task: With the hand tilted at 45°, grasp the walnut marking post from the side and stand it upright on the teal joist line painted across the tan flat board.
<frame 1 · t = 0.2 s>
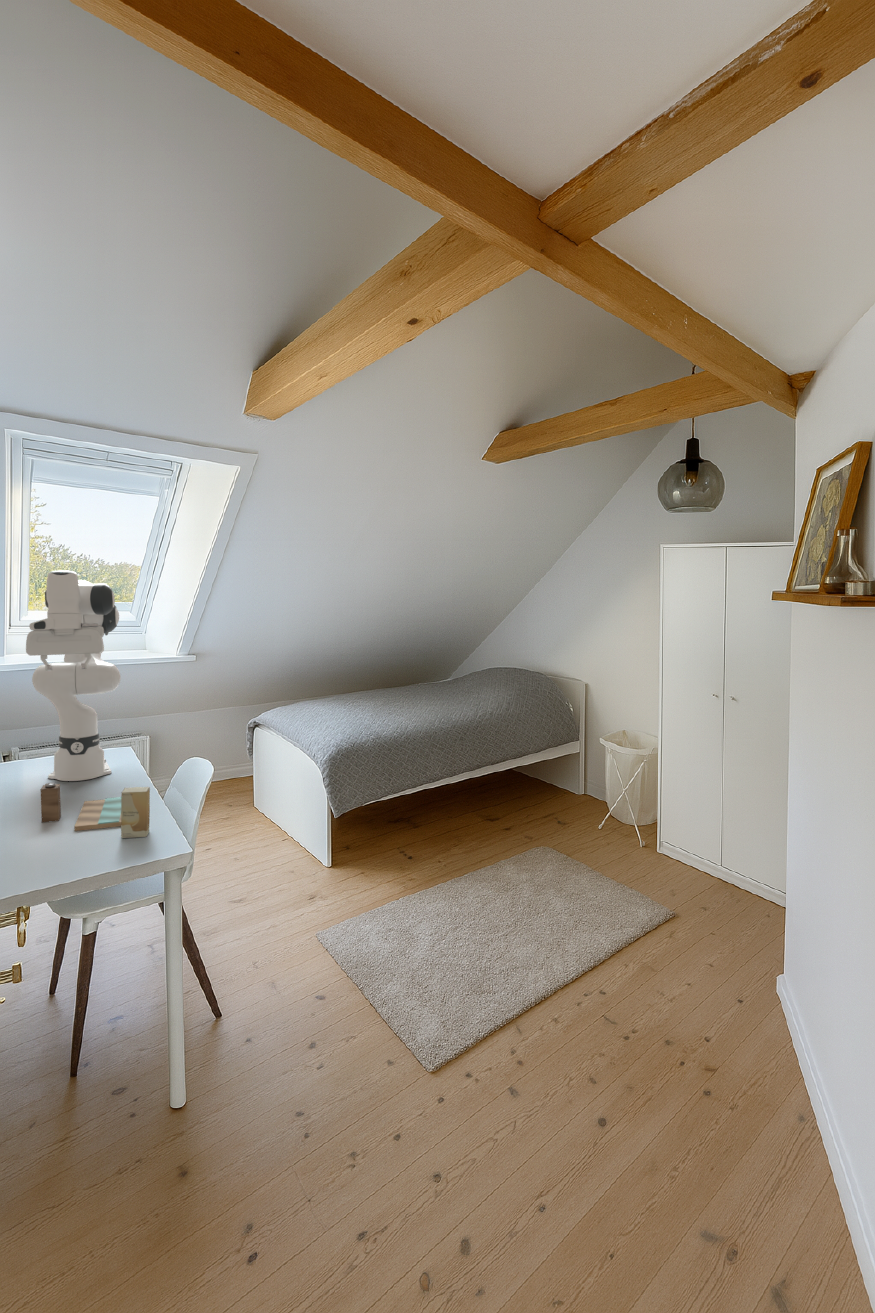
hand: (66, 669, 190), 39 cm above the table, tool pointing down, fingers open, 8 cm apart
skincare box: (136, 835, 164), on the table
walnut marking post: (51, 819, 174), on the table
tan flat board: (110, 814, 179), on the table
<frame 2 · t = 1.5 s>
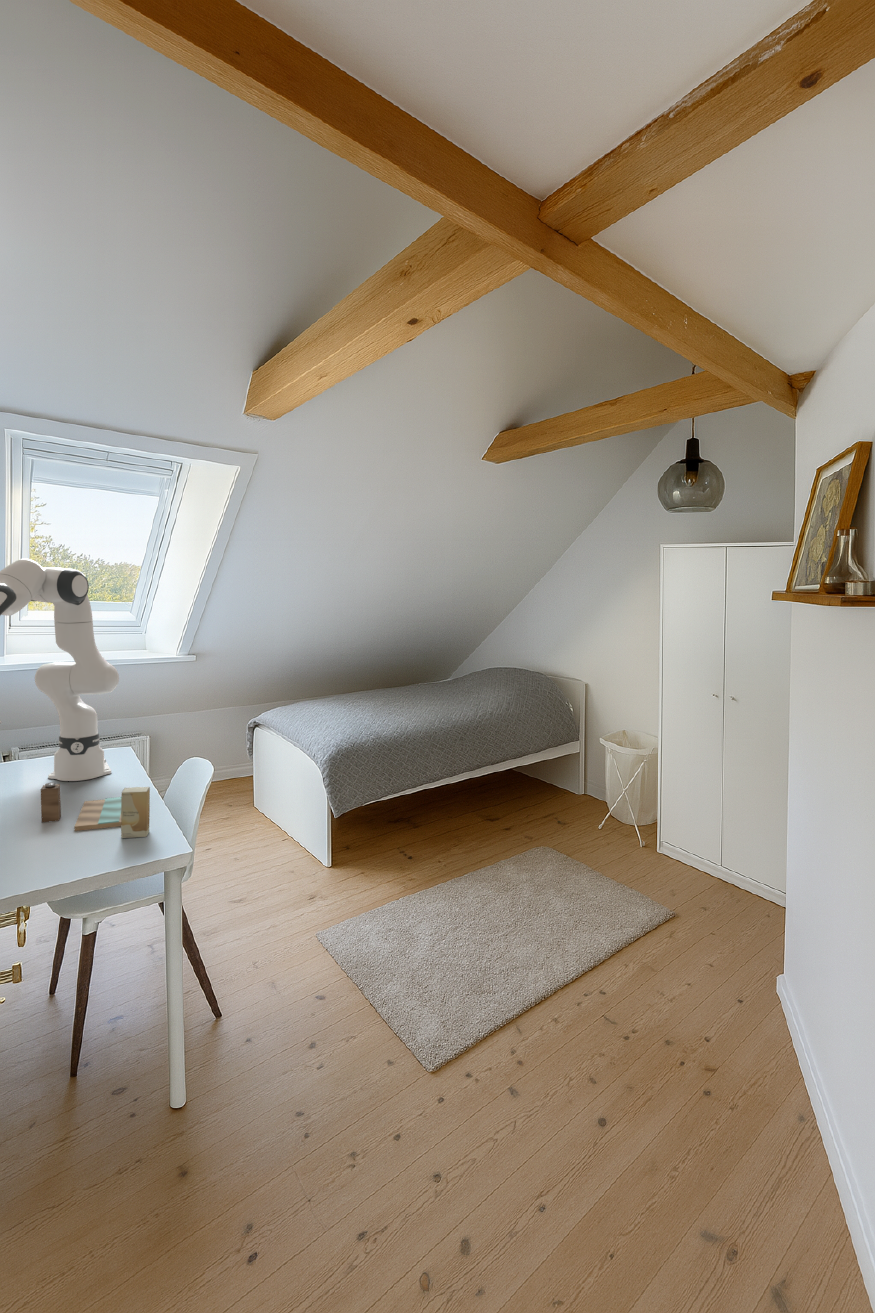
nothing on the table moved.
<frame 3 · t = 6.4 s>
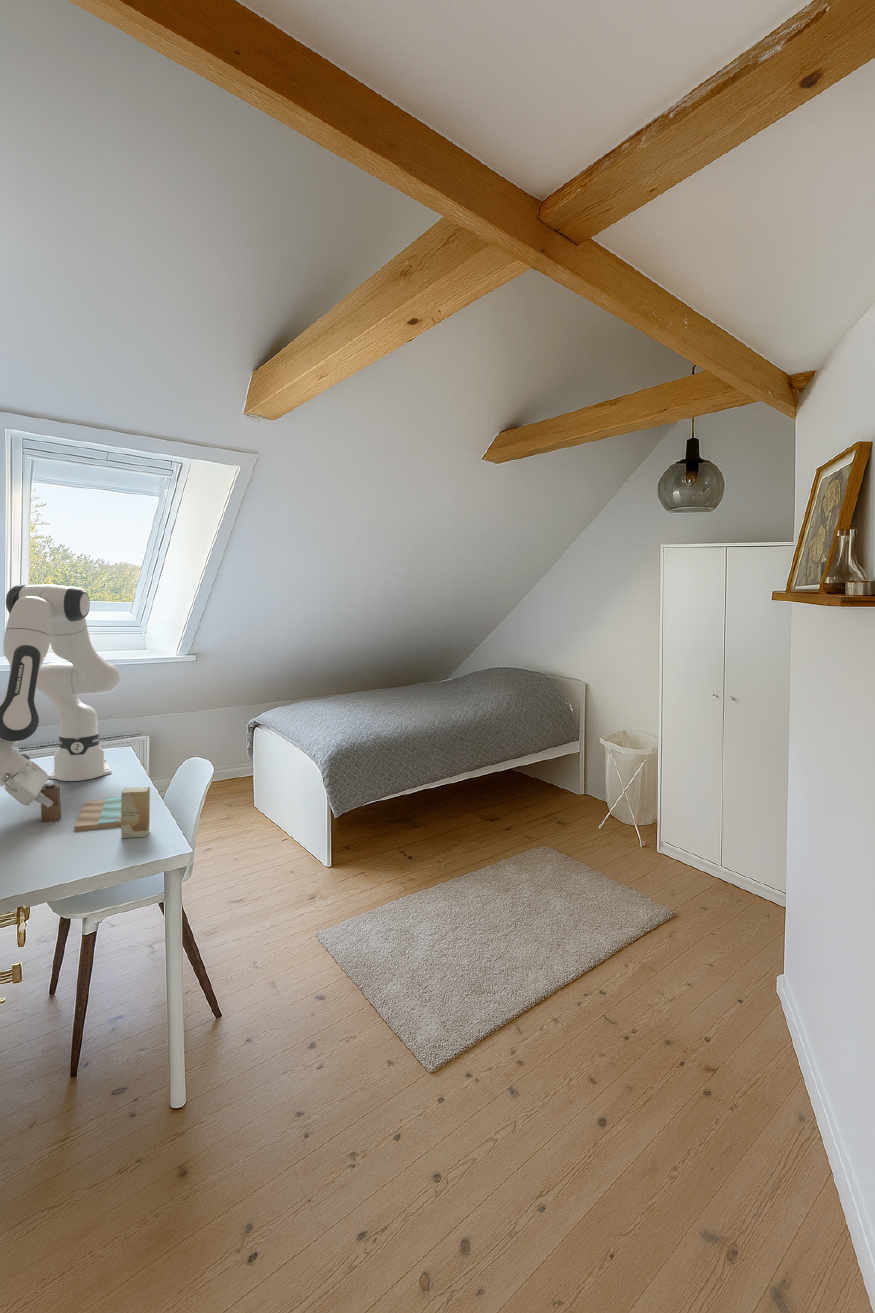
hand: (53, 801, 174), 5 cm above the table, tool tilted 45°, fingers closed on walnut marking post, 4 cm apart
walnut marking post: (51, 819, 174), on the table, touching gripper
everything else where it was.
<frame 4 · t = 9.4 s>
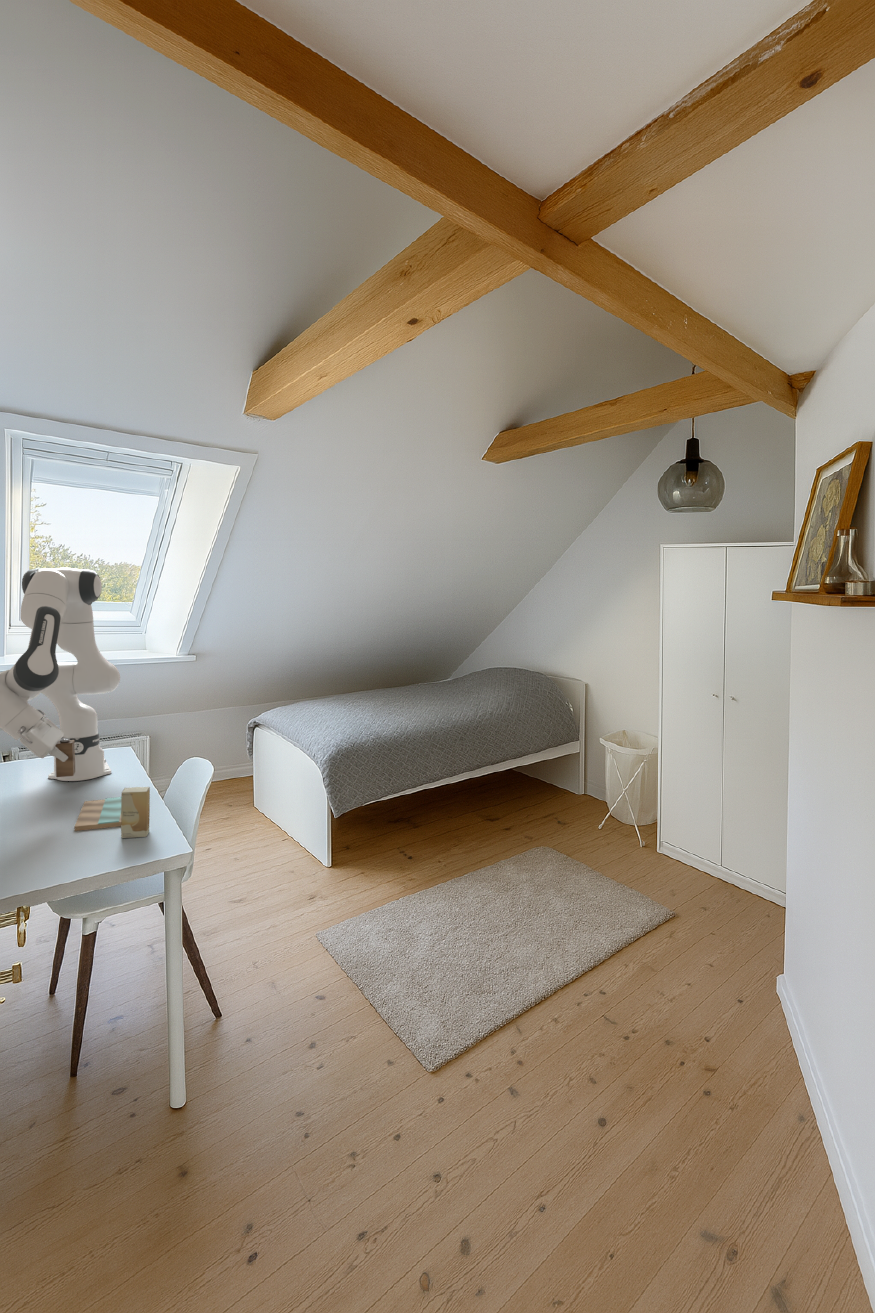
hand: (68, 757, 174), 17 cm above the table, tool tilted 45°, fingers closed on walnut marking post, 4 cm apart
walnut marking post: (66, 774, 174), point 12 cm above the table, touching gripper
everything else where it was.
when the fingers open (8 cm above the table, at t = 12.4 s): walnut marking post drops 1 cm, resting on tan flat board.
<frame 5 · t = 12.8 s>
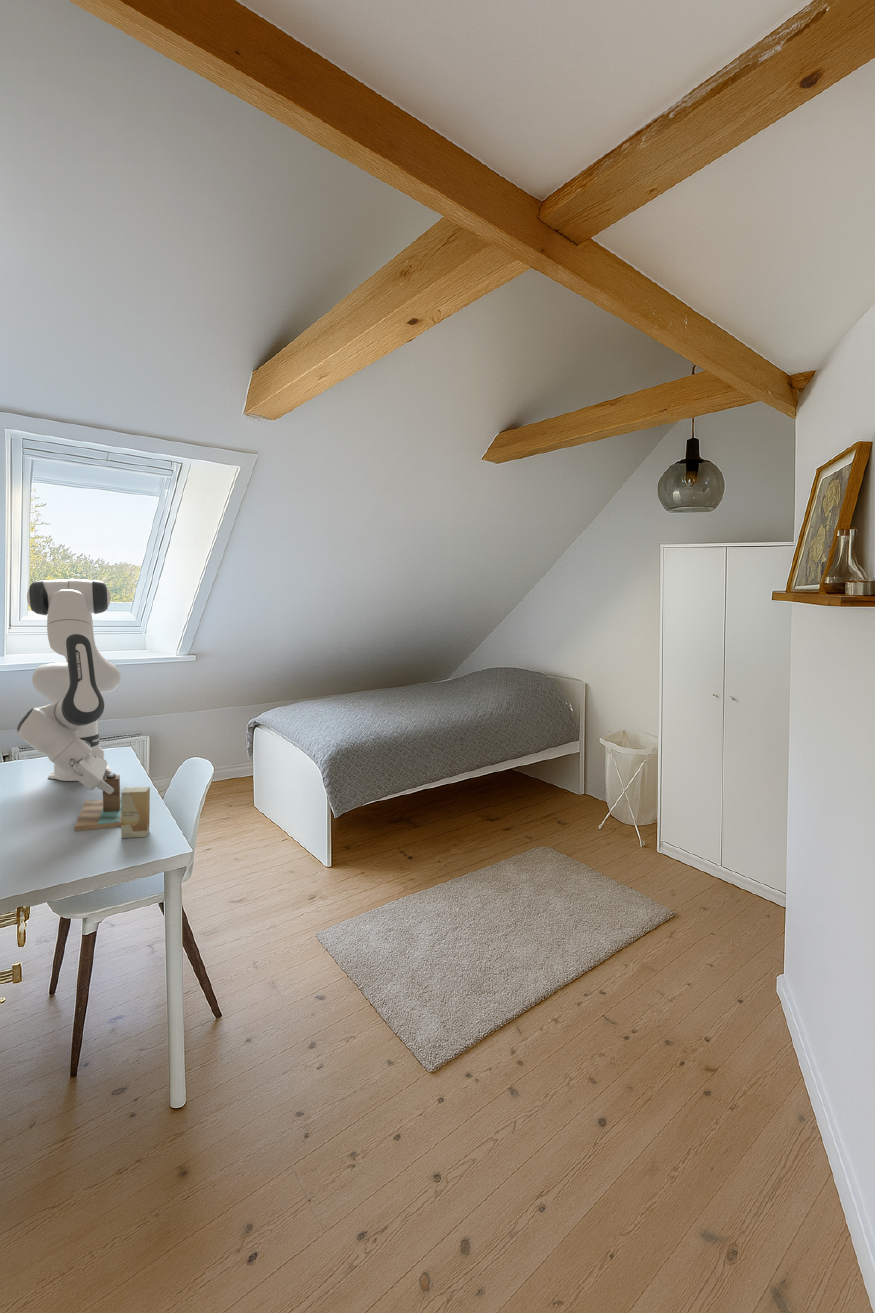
hand: (113, 787, 178), 8 cm above the table, tool tilted 45°, fingers open, 8 cm apart
walnut marking post: (112, 809, 179), point 1 cm above the table, touching tan flat board
everything else where it was.
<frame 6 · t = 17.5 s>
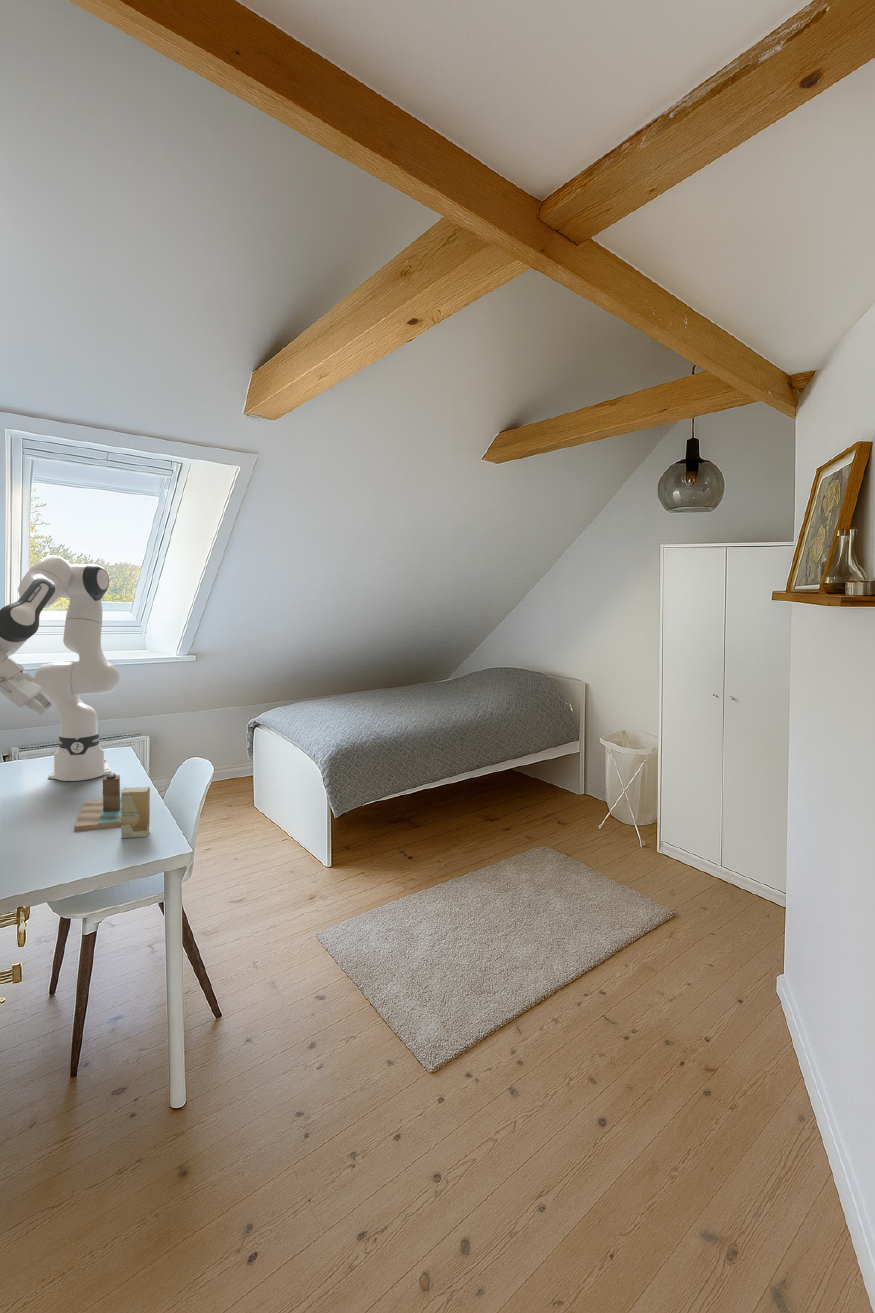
hand: (47, 709, 178), 29 cm above the table, tool tilted 45°, fingers open, 8 cm apart
nothing on the table moved.
at the end: walnut marking post 0.1 cm from the target spot, point 1.5 cm above the table; walnut marking post tilted 0°; the gripper is holding nothing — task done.
